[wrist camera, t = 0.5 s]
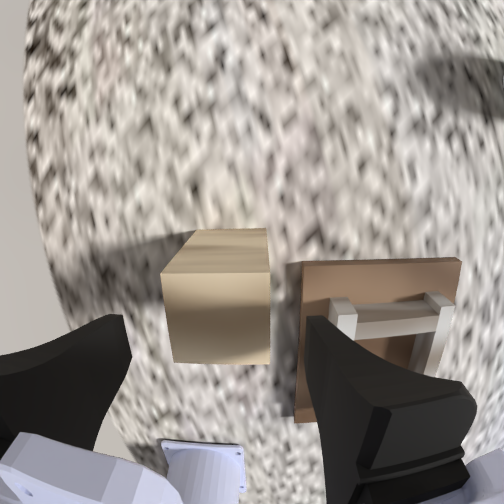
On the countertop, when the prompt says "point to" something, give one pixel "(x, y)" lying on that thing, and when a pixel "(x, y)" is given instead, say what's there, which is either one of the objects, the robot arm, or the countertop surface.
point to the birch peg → (219, 298)
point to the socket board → (380, 311)
